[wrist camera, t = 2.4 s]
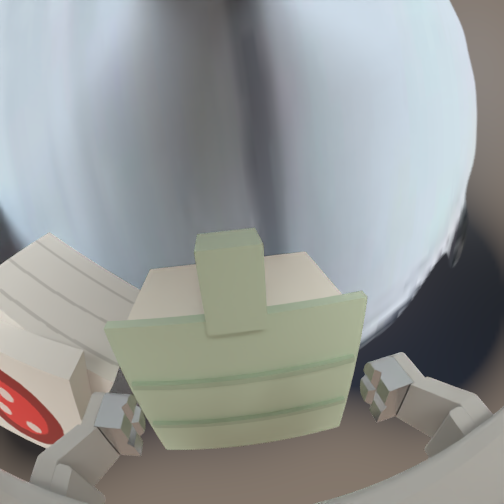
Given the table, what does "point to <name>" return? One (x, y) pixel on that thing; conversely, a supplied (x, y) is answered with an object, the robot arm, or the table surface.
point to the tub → (189, 296)
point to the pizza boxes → (55, 337)
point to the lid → (240, 355)
